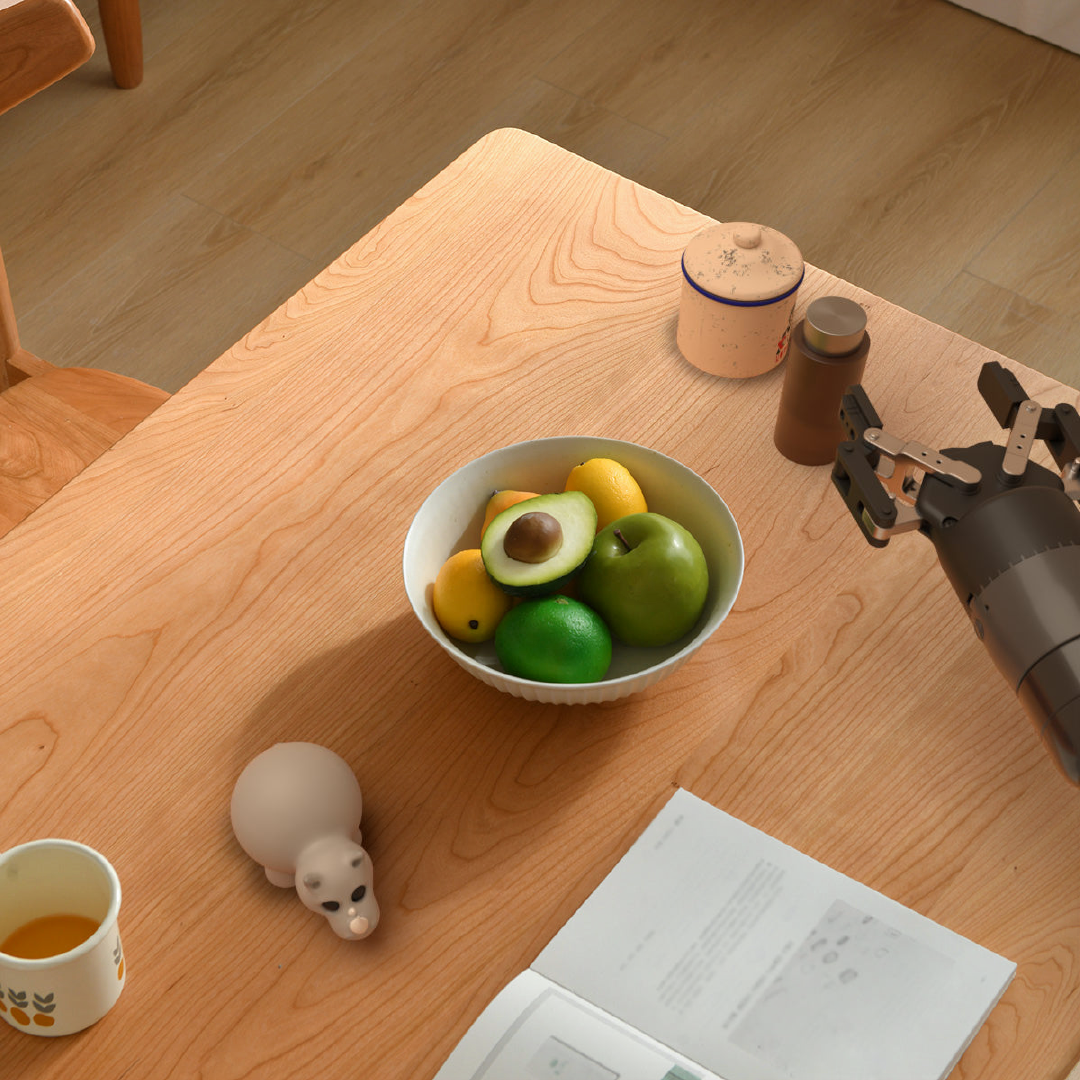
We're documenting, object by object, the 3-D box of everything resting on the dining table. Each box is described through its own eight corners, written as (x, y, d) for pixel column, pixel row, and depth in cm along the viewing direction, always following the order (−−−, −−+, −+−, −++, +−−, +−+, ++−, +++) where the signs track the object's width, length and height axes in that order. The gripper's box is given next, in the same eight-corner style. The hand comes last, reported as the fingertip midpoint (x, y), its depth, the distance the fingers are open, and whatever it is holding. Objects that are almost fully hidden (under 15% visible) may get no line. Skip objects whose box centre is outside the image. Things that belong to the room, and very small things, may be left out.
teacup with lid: (800, 386, 104) (825, 264, 95) (684, 395, 103) (698, 274, 94) (766, 285, 112) (785, 165, 103) (657, 294, 111) (667, 173, 102)
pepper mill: (827, 421, 102) (858, 284, 92) (853, 470, 98) (888, 334, 88) (761, 432, 101) (786, 296, 91) (785, 482, 98) (813, 347, 88)
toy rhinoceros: (306, 1000, 73) (283, 935, 67) (227, 825, 80) (200, 750, 73) (426, 939, 76) (415, 869, 69) (339, 773, 82) (322, 696, 76)
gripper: (1195, 525, 68) (1047, 316, 78) (929, 577, 66) (813, 355, 76) (1144, 614, 74) (1012, 408, 84) (899, 664, 72) (794, 447, 82)
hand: (917, 383), depth 80 cm, fingers open, 8 cm apart
